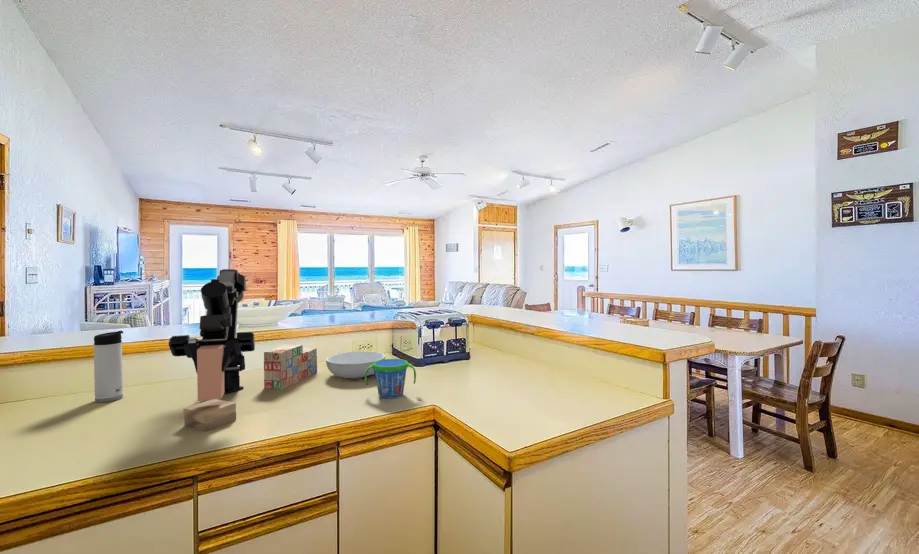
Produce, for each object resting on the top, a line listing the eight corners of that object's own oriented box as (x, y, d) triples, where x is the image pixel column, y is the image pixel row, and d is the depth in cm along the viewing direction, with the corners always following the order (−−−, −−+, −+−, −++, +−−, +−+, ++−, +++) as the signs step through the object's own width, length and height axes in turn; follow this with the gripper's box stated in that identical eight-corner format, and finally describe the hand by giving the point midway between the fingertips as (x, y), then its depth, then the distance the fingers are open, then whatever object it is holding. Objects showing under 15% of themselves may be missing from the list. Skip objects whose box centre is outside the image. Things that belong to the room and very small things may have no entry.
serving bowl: (367, 365, 160) (367, 348, 160) (396, 376, 145) (396, 357, 145) (316, 374, 146) (316, 356, 146) (342, 387, 131) (342, 366, 131)
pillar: (201, 394, 102) (201, 346, 102) (224, 392, 104) (223, 344, 103) (197, 401, 97) (196, 350, 97) (221, 398, 99) (220, 348, 99)
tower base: (184, 428, 99) (184, 418, 99) (215, 417, 106) (215, 407, 106) (205, 433, 96) (205, 423, 95) (236, 422, 103) (236, 412, 103)
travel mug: (125, 398, 119) (124, 331, 118) (96, 404, 114) (94, 334, 113) (122, 394, 123) (121, 329, 123) (93, 399, 118) (92, 332, 118)
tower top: (183, 418, 98) (183, 408, 98) (213, 408, 106) (213, 398, 106) (206, 423, 95) (206, 413, 95) (235, 412, 103) (235, 402, 103)
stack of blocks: (302, 371, 150) (302, 339, 150) (317, 372, 149) (317, 340, 149) (263, 388, 129) (263, 351, 129) (280, 390, 128) (280, 352, 128)
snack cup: (361, 400, 118) (360, 366, 118) (369, 389, 128) (369, 358, 128) (413, 401, 118) (413, 366, 117) (417, 390, 128) (418, 358, 128)
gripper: (169, 304, 100) (156, 357, 90) (253, 301, 107) (249, 350, 97) (178, 330, 107) (167, 382, 98) (256, 326, 115) (253, 374, 105)
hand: (210, 372), depth 99 cm, fingers closed on pillar, 5 cm apart
